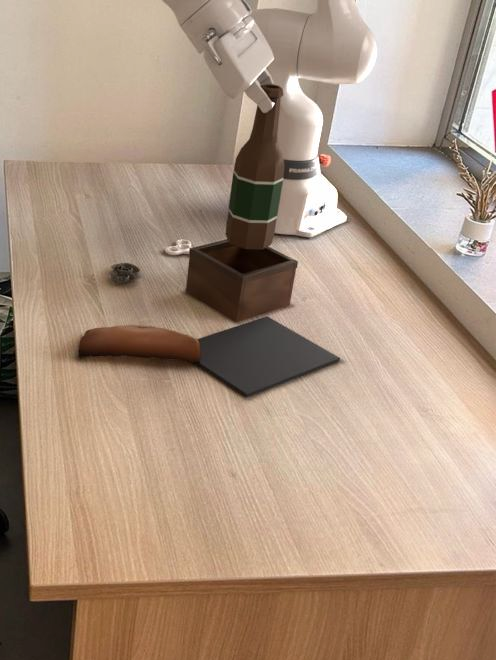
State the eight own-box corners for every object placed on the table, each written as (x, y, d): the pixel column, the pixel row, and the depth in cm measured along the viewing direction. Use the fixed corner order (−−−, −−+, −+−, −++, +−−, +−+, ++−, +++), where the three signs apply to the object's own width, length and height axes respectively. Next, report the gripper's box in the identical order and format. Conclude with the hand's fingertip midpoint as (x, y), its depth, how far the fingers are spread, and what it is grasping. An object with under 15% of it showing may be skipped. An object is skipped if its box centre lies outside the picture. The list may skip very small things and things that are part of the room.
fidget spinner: (180, 241, 179) (180, 237, 178) (210, 250, 177) (211, 246, 176) (162, 253, 174) (162, 248, 173) (193, 262, 171) (194, 258, 171)
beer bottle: (269, 254, 149) (295, 96, 135) (220, 245, 150) (241, 88, 136) (275, 236, 155) (300, 84, 142) (228, 228, 156) (249, 76, 143)
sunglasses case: (200, 336, 146) (203, 313, 140) (198, 377, 143) (202, 355, 137) (82, 330, 145) (80, 307, 139) (78, 370, 142) (76, 349, 136)
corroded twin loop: (105, 284, 160) (105, 279, 160) (113, 265, 167) (113, 260, 166) (134, 288, 160) (134, 283, 160) (141, 269, 167) (142, 264, 166)
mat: (266, 319, 156) (267, 316, 155) (339, 361, 146) (340, 357, 146) (173, 349, 144) (174, 346, 144) (246, 397, 135) (247, 394, 134)
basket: (238, 276, 169) (245, 234, 164) (290, 305, 161) (298, 261, 156) (184, 292, 161) (189, 248, 157) (236, 323, 154) (242, 277, 149)
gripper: (217, 21, 126) (278, 109, 130) (248, -1, 143) (300, 77, 147) (182, 51, 130) (241, 136, 134) (215, 26, 146) (268, 102, 150)
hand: (273, 105), depth 140 cm, fingers closed on beer bottle, 4 cm apart
